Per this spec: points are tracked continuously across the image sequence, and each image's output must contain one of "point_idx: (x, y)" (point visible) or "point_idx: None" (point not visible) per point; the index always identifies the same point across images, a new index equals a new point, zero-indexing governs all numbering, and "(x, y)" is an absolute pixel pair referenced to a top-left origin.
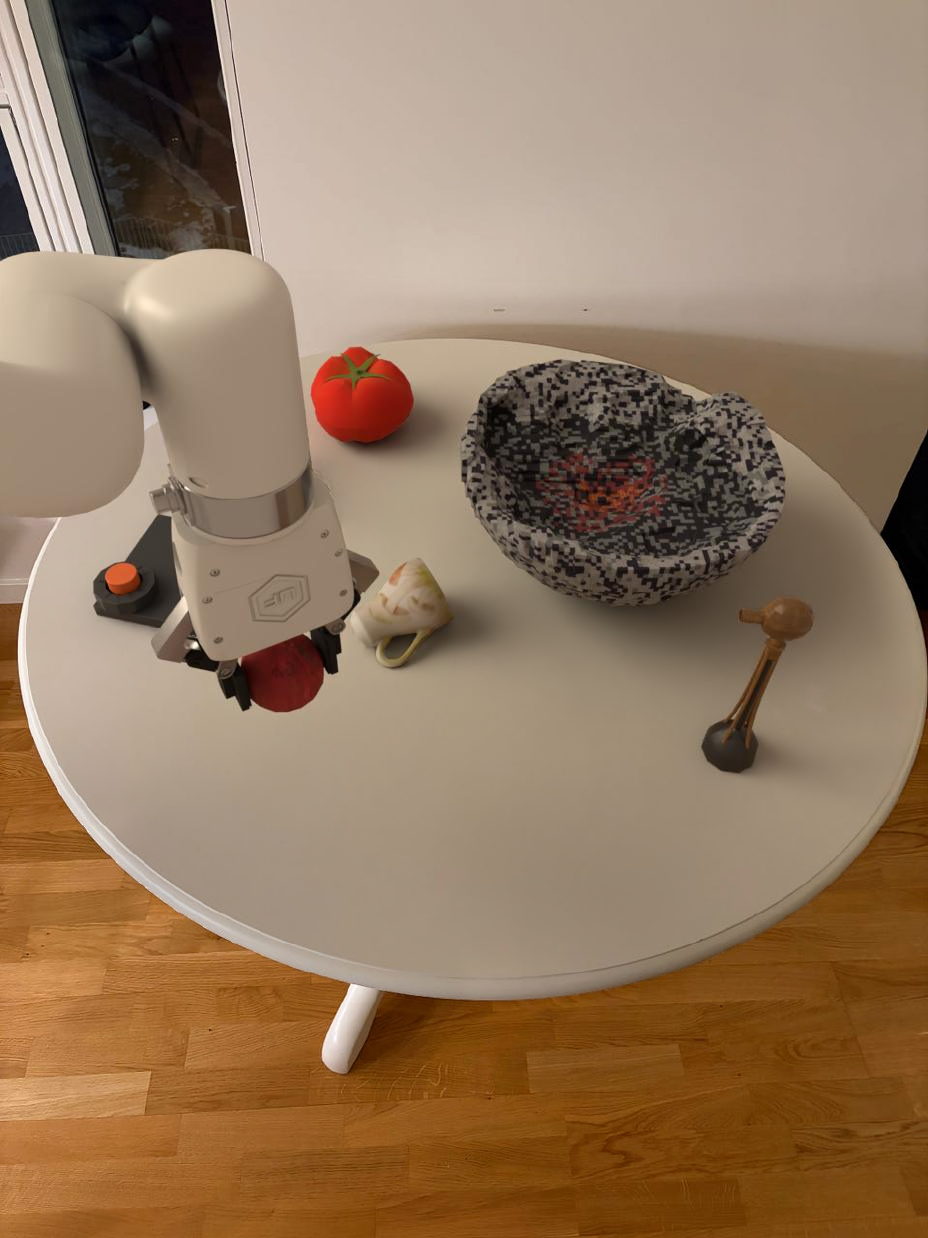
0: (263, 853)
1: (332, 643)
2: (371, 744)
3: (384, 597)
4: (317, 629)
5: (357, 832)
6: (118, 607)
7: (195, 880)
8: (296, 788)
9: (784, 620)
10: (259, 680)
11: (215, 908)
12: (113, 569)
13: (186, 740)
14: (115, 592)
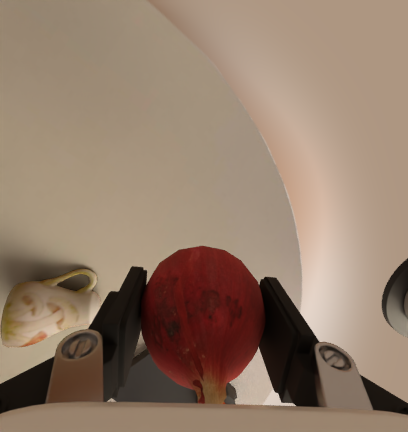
0: (238, 194)
1: (112, 314)
2: (136, 224)
3: (58, 325)
4: (123, 355)
5: (179, 171)
6: (227, 392)
7: (280, 202)
8: (196, 223)
9: None
10: (258, 309)
11: (280, 179)
12: None
13: None
14: (224, 403)
